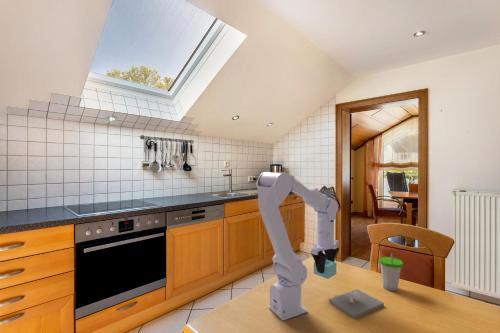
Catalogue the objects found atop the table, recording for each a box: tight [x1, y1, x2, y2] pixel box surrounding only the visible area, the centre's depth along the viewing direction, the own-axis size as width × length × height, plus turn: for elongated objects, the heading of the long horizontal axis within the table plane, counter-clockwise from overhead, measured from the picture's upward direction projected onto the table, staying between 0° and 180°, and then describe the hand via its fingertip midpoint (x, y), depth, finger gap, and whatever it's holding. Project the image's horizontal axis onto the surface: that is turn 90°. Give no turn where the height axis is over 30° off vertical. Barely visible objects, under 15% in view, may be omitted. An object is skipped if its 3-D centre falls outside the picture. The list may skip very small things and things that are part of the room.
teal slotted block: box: [313, 260, 337, 280], centre depth 89 cm, size 6×6×4 cm
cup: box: [378, 251, 404, 292], centre depth 93 cm, size 8×8×15 cm
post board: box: [328, 289, 385, 320], centre depth 82 cm, size 14×10×4 cm
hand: (325, 269), depth 89 cm, fingers closed on teal slotted block, 6 cm apart
